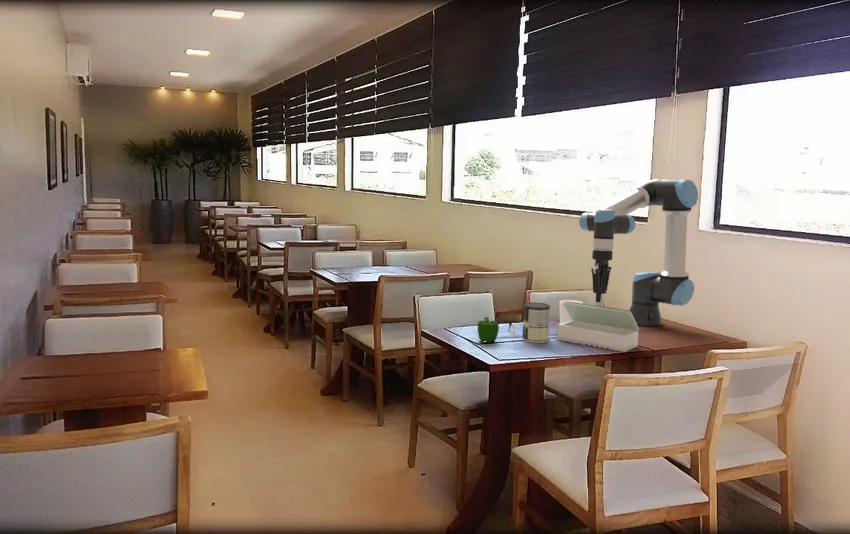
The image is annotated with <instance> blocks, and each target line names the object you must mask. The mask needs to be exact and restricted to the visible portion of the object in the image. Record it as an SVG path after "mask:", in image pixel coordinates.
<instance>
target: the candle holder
mask: <svg viewBox="0 0 850 534" xmlns="http://www.w3.org/2000/svg"><path fill="white" fill-rule="evenodd" d="M566 301H567V302H574V303H581V304H584V302H583V301H581V300H576V299H575V300H574V299H562V300H561V299H560V300H559V324H562V323H565V322H568V321H572V319H571V317H570V315H569V313H568V312H567V310H566V308H565V306H564V305H563V302H566ZM574 321H575V320H574ZM580 322H581V321H580Z"/></svg>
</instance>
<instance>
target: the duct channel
mask: <svg viewBox="0 0 850 534" xmlns="http://www.w3.org/2000/svg"><path fill="white" fill-rule="evenodd" d="M556 338H557V340H559V341H563V342H569V343H575V344H579V343H582V344H581V345H585V344H588V345H587V346H590V345H593V346H592V347H596V346H598V348H601V347H603V349H606V348H609V349H608V350H612V349H613V351H617V350H618V351H619V352H624V353H625V352H627V351H630V350H632V349H634V348H637V347H638V345H639V344H638V343H639V331H636V330H630V329H624V328H618V327H612V326H606V325H600V324H593V323H587V322H580V321H574V320H572V321H568V322H565V323H562V324H560V323H559V324H557V337H556Z"/></svg>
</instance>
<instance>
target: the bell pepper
mask: <svg viewBox="0 0 850 534" xmlns="http://www.w3.org/2000/svg"><path fill="white" fill-rule="evenodd" d="M478 322H479V323H478ZM478 322H477V333H478V338H479V340H480V341H481V342H482V341H486V342H488V343H492V342H491V341H494V342H495V341H496V340H497V338H498V333H499V327H500V326H499V323H497V320H491V321H490V318H489V317H488V316H484V317H483V320H478ZM486 342H485V343H486Z"/></svg>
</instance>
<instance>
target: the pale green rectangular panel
mask: <svg viewBox="0 0 850 534" xmlns="http://www.w3.org/2000/svg"><path fill="white" fill-rule="evenodd" d="M563 305H564V306H565V308H566V310H567V312H568V313H569V315H570V317H571V319H572V320H575V321H581V322H586V323H592V324H598V325H604V326H610V327H616V328H623V329H629V330H635V331H638V332H639V330H640V328H639V325H637V323H636V321H635V319H634V317H633V315H632V313H631V312H630V311H629V310H630V309H629V310H628V309H621V308H616V307H609V306H608V307H607V306H603V307H602V306H595V304H587V303H583V304H581V303H574V302H567V301H566V302H563Z"/></svg>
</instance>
